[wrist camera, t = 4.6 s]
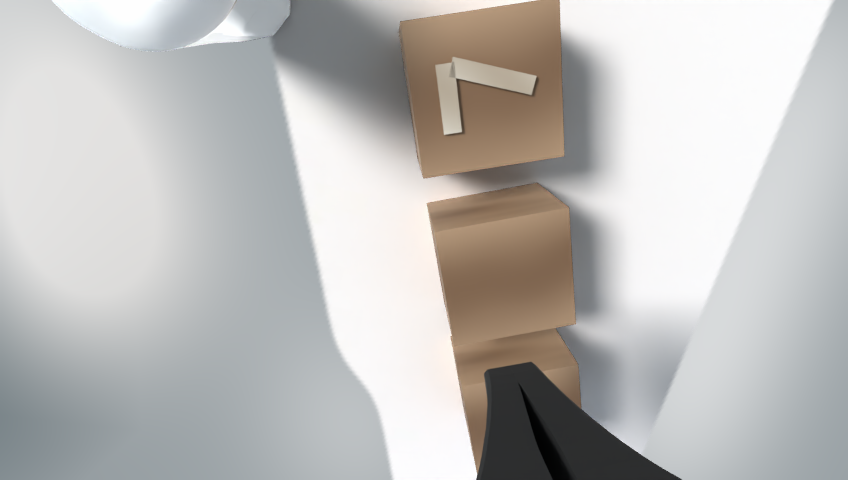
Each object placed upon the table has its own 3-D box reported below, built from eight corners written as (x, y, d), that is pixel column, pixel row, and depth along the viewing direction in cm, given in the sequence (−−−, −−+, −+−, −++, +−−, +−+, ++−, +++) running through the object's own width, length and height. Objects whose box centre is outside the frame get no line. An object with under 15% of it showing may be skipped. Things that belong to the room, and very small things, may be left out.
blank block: (544, 281, 22) (575, 324, 18) (443, 299, 22) (454, 346, 18) (536, 182, 20) (568, 207, 16) (426, 202, 20) (434, 232, 16)
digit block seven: (531, 140, 20) (566, 156, 16) (417, 157, 19) (423, 179, 16) (524, 12, 18) (561, -4, 14) (398, 32, 18) (400, 20, 14)
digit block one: (555, 395, 24) (585, 456, 21) (464, 412, 24) (477, 476, 21) (547, 316, 23) (579, 366, 19) (450, 334, 23) (461, 389, 19)
